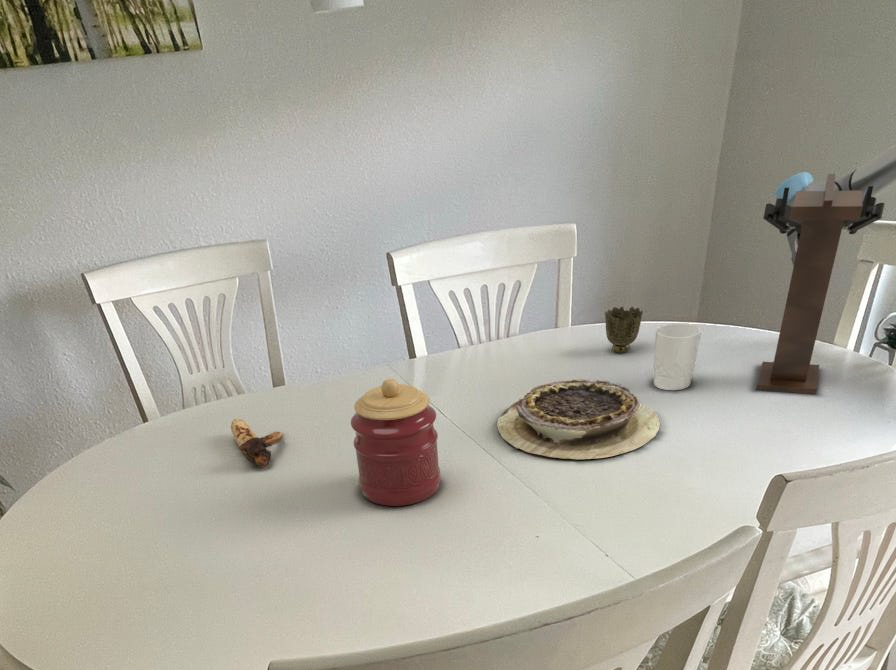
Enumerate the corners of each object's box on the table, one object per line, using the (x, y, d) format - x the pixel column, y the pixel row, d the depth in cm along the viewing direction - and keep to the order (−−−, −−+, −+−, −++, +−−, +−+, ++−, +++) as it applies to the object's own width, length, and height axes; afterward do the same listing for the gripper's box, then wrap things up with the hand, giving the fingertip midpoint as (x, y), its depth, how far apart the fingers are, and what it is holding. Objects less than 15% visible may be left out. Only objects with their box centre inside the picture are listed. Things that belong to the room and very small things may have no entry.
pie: (691, 432, 132) (695, 403, 128) (557, 477, 123) (558, 447, 120) (589, 383, 152) (591, 357, 149) (468, 419, 143) (467, 392, 140)
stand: (818, 370, 148) (862, 190, 129) (815, 394, 139) (862, 206, 120) (761, 366, 151) (796, 191, 132) (756, 390, 143) (792, 206, 124)
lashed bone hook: (299, 463, 136) (271, 425, 148) (296, 438, 133) (267, 401, 145) (247, 475, 133) (223, 435, 146) (242, 450, 130) (218, 411, 143)
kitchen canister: (403, 461, 132) (392, 357, 121) (457, 484, 124) (452, 375, 113) (344, 491, 125) (327, 383, 114) (397, 516, 118) (385, 404, 107)
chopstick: (833, 181, 136) (835, 173, 135) (830, 209, 121) (832, 200, 120) (826, 181, 136) (827, 173, 135) (822, 209, 121) (824, 200, 120)
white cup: (642, 381, 150) (647, 328, 144) (677, 373, 152) (683, 320, 146) (666, 395, 144) (672, 340, 138) (702, 386, 146) (710, 332, 140)
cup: (599, 355, 162) (601, 316, 157) (606, 344, 168) (609, 305, 163) (635, 358, 160) (639, 317, 155) (641, 345, 165) (645, 306, 160)
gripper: (754, 215, 162) (756, 173, 143) (890, 215, 153) (911, 170, 134) (747, 254, 164) (747, 217, 144) (880, 256, 155) (900, 217, 135)
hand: (826, 194), depth 139 cm, fingers open, 13 cm apart
